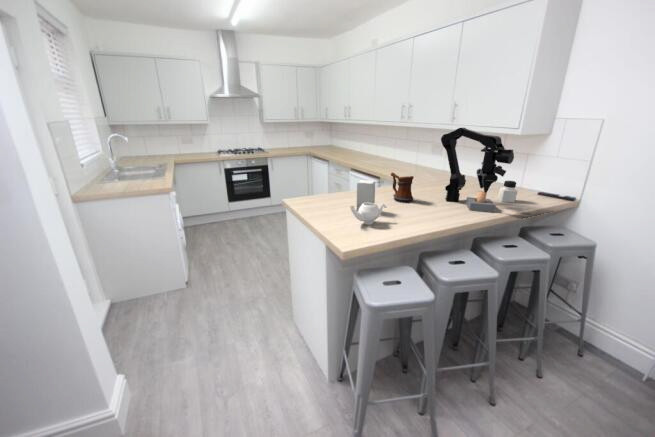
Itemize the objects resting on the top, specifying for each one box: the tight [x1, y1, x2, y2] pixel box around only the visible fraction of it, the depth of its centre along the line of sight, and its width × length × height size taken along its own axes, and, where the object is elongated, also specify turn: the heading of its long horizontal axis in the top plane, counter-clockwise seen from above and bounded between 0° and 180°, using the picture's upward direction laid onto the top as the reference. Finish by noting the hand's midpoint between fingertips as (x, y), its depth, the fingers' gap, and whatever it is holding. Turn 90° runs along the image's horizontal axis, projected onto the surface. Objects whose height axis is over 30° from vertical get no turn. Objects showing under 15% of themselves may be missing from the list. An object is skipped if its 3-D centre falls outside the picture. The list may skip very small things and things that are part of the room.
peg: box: [476, 190, 488, 203], centre depth 158 cm, size 4×4×9 cm
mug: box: [390, 172, 415, 204], centre depth 172 cm, size 18×12×15 cm, turn 29°
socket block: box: [465, 196, 497, 213], centre depth 159 cm, size 12×12×4 cm
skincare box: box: [356, 179, 376, 212], centre depth 150 cm, size 8×7×16 cm
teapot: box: [349, 202, 388, 226], centre depth 134 cm, size 10×20×9 cm, turn 115°
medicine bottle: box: [497, 180, 518, 203], centre depth 172 cm, size 7×7×12 cm
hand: (483, 190), depth 156 cm, fingers open, 9 cm apart
